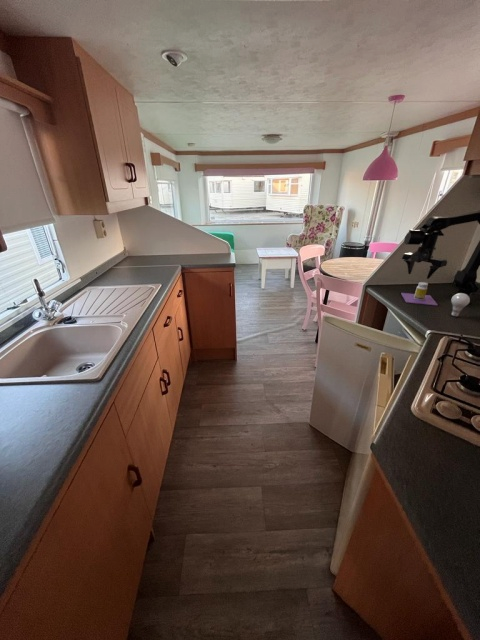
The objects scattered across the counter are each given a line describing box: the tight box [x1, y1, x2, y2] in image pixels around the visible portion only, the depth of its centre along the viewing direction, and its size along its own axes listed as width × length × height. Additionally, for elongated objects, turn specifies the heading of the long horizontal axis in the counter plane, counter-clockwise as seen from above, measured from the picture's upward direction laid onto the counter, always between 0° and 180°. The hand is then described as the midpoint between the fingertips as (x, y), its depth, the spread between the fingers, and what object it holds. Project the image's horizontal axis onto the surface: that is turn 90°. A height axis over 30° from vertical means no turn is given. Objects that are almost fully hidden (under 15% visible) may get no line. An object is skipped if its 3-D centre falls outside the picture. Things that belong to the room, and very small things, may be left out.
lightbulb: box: [450, 293, 471, 317], centre depth 118 cm, size 6×6×11 cm
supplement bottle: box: [414, 281, 429, 300], centre depth 137 cm, size 5×5×8 cm
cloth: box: [400, 292, 439, 307], centre depth 139 cm, size 14×14×1 cm
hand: (418, 276), depth 135 cm, fingers open, 9 cm apart
